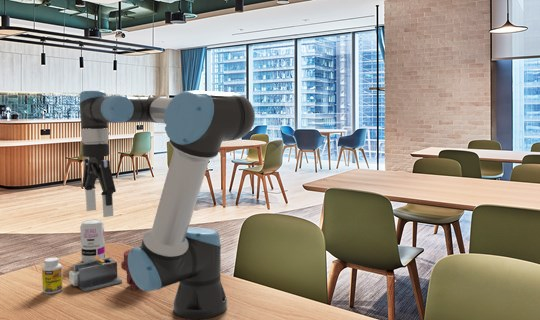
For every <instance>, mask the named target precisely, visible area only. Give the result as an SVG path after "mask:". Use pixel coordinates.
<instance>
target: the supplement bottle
mask: <svg viewBox="0 0 540 320" xmlns="http://www.w3.org/2000/svg"><path fill="white" fill-rule="evenodd" d="M59 261H60V259H59V257H49V258H45V259H44V265H43V266H42V267H41V274H42V275H41V276H42V279H41V281H42V291H43V294H48V295H51V294H57V293H59V292H61V291H62V290H63V270H62V269H63V268H62V267H63V266H62V264H61V263H60V262H59Z"/></svg>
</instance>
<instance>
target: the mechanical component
mask: <svg viewBox="0 0 540 320" xmlns="http://www.w3.org/2000/svg"><path fill="white" fill-rule="evenodd" d="M134 248H135V247H132V248H131V249H128V250H126V251H124V252H123V260H122V261H121V263H120V267H121V269H122V270H123V271H125V272H126V284H127V285H129V286H131V290H133V291H135V290H138V289H140V288H139V287H138V286H137V285H136V284H135V282H134V281H133V279H132V277H131V274H130V271H129V267H128V255H129V252H130V251H131V250H132V249H134Z"/></svg>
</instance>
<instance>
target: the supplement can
mask: <svg viewBox="0 0 540 320" xmlns="http://www.w3.org/2000/svg"><path fill="white" fill-rule="evenodd" d="M104 225H105V224H104V222H103V220H102V219H86V220H83V221H81V224H80V249H81V250H80V253H81V261H82V263H85V262H90V261H93V260H96V259H95V258H94V256H98V257H100V258H101V259H104V258H106V251H105V226H104Z"/></svg>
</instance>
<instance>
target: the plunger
mask: <svg viewBox="0 0 540 320" xmlns="http://www.w3.org/2000/svg"><path fill="white" fill-rule="evenodd" d="M94 258H95V259H96V260H97V262H98V264H103V263H105V261H104V260H102V259H101V258H100V257H98V256H94ZM68 273H69V274H68V275H69V278H68V279H69V283H70V284H71V285H72V286H73V287H79V286H78V283H79V270H78V271H74V270H69V271H68Z"/></svg>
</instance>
